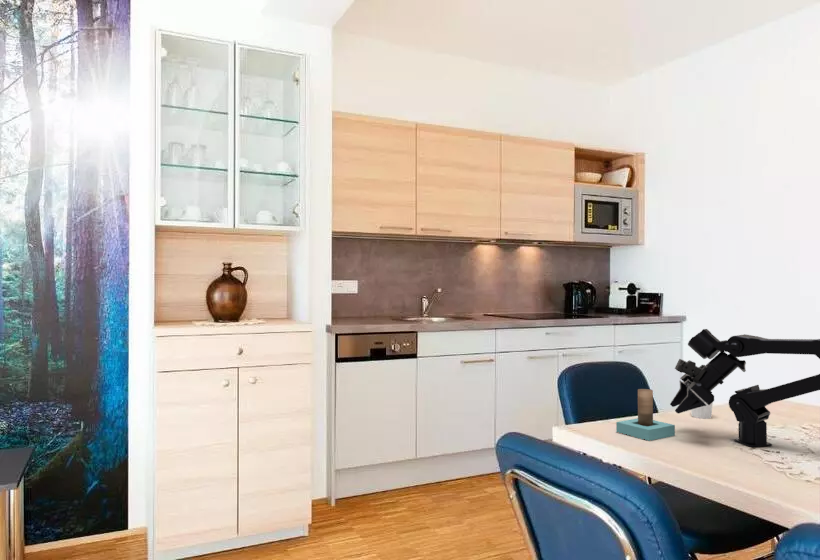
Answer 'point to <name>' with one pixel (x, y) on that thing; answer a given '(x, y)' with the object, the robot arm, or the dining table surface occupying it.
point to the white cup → (702, 411)
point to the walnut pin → (645, 407)
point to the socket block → (645, 429)
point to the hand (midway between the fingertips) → (673, 408)
